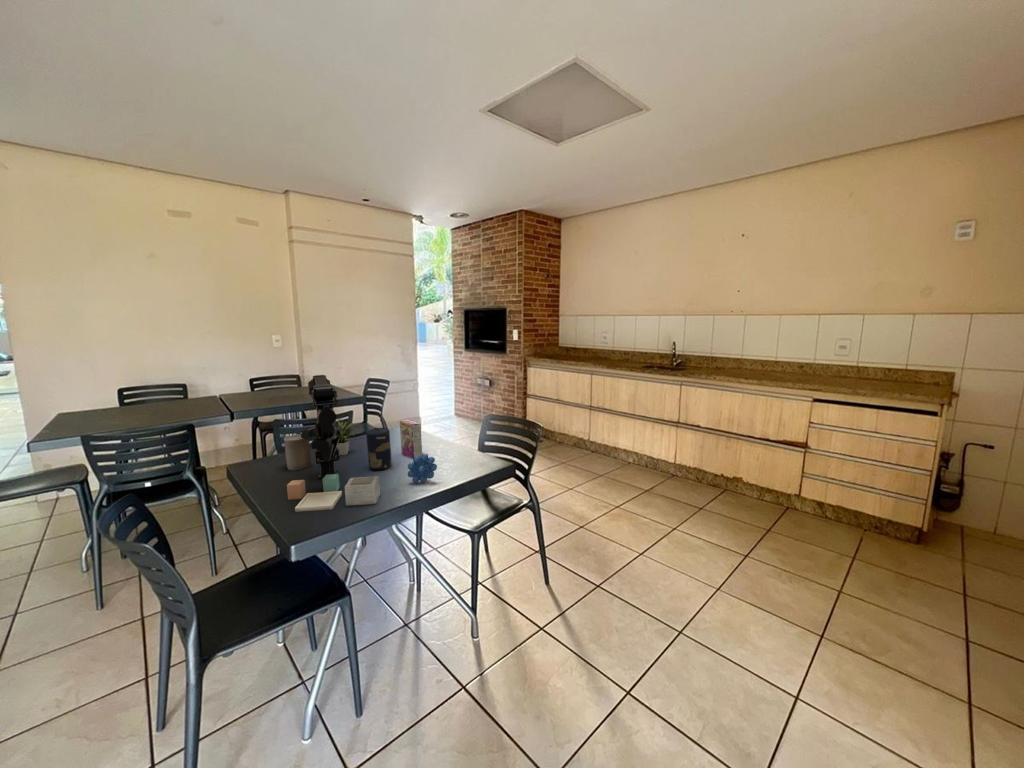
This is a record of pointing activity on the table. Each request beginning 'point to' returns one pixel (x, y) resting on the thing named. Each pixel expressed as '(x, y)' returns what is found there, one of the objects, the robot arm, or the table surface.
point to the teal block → (331, 483)
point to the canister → (378, 448)
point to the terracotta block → (296, 489)
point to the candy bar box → (411, 438)
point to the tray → (318, 501)
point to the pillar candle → (297, 452)
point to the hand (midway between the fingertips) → (329, 459)
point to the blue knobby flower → (422, 468)
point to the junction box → (362, 491)
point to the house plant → (343, 440)
